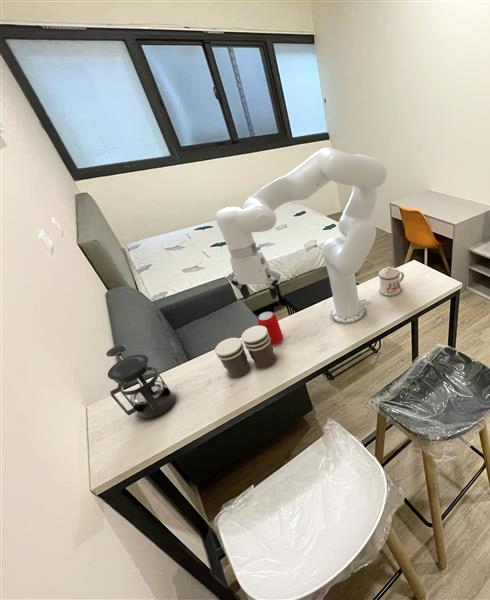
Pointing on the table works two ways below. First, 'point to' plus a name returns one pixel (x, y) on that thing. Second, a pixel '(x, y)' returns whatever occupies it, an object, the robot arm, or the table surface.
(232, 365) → the cup stacks
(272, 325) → the beverage can
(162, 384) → the french press
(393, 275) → the teacup with lid
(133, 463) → the table surface
